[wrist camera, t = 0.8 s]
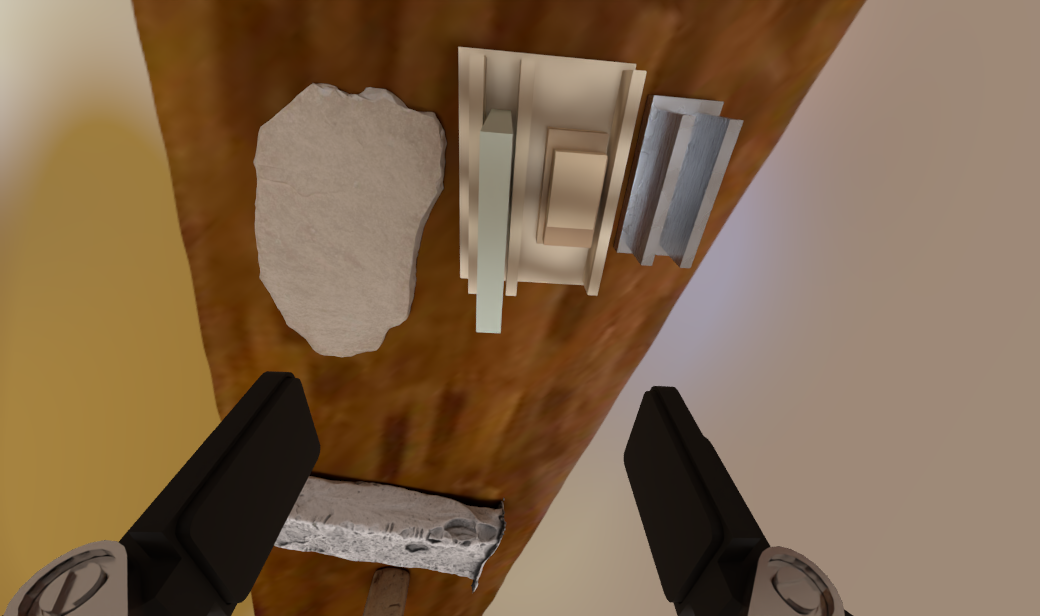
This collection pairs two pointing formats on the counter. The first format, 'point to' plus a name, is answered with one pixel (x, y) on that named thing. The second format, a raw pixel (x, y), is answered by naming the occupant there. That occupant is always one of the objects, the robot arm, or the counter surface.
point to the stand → (674, 178)
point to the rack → (542, 152)
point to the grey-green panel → (493, 217)
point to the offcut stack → (571, 186)
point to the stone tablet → (345, 212)
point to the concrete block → (392, 527)
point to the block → (387, 593)
